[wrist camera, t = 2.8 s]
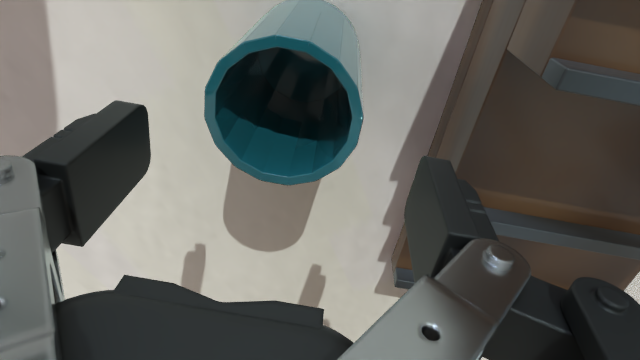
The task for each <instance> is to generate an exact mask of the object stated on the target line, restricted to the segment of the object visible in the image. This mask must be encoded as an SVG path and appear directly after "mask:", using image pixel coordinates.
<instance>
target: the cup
mask: <svg viewBox="0 0 640 360" xmlns="http://www.w3.org/2000/svg"><path fill="white" fill-rule="evenodd" d="M204 117H205V121H206V123H207V126H208V128H209V131H210V133H211V136H212V138H213V141H214V143H215V145H216V146H217V147H218V149H219V150H220V151H221V152H222V153H223V154H224V155H225V156H226V157H227V158H228V160H229V161H230V162H231V163H232V164H233V165H234V166H236V167H237V168H238V169H240V170H242V171H244V172H246V173H247V174H249V175H251V176H253V177H255V178H257V179H258V180H261V181H266V182H271V183H277V184H282V185H295V184H301V183H308V182H314V181H317V180H319V179H321V178H322V177H324V176H326V175H328V174H329V173H331V172H333V171H335V170H336V169H338V168H339V167H341V166H342V164H343V163H344V162H345V160H346V159H347V158H348V156H349V155H350V154H351V153H352V151H353V150H354V149H355V147H356V145H357V143H358V139H359V135H360V131H361V127H362V123H363V97H362V77H361V57H360V50H359V43H358V39H357V35H356V32H355V30H354V28H353V26H352V24H351V22H350V21H349V20H348V18H347V17H346V16H345V15H344V14H343V13H342V12H341V11H340V10H339V9H338V8H336V7H335V6H334V5H332V4H330V3H328V2H326V1H324V0H286V1H283V2H281V3H279V4H278V5H276V6H275V7H273V8H272V9H271V10H270V11H269V12H268V13H266V14H265V15H264V16H263V17H262V18H261V19H260V20H259V21H258V22H257V23H256V24H255V25H254V26H253V27H252V28H251V29H250V30H249V31H248V32H247V33H246V34H245V35H244V36H243V37H242V38H241V39H240V40H239V41H238V42H237V43H236V44H235V45H234V46H233V47H232V48H231V49H230V50H229V51H228V52H227V53H226V54H225V55H224V56H223V57H222V58H221V59H220V60H219V61H218V62H217V64H216V66H215V68H214V70H213V72H212V75H211V77H210V79H209V81H208V83H207V85H206V87H205V108H204Z"/></svg>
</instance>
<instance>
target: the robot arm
mask: <svg viewBox="0 0 640 360" xmlns="http://www.w3.org/2000/svg"><path fill="white" fill-rule="evenodd" d="M150 157H151V152H150V138H149V124H148V113H147V109H146V107H145V106H144V105H140V104H134V103H128V102H123V101H114V102H112V103H111V104H109V105H108V106H107V107H105V108H104V109H102V110H101V111H99V112H98V113H97V114H92V115H89V116H86V117H83V118H80V119H77V120H75V121H74V122H72V123H71V124H69V125H68V126H66V127H65V128H64V130H61V131H59V132H58V133H56V134H55V135H54V137H50V138H49V139H47V140H46V141H44V142H43V143H41V144H40V145H38V146H37V147H36V148H34V149H33V150H31V151H30V152H28V153H27V154H25V155H24V156H22V157H19V156H0V360H481V358H482V357H484V358H487V359H489V360H640V305H639V304H638V303H637V302H636V301H635V300H634V299H633V298H632V297H631V296H630V295H628V294H627V293H625V292H624V291H623V290H621V289H619V288H618V287H616V286H614V285H612V284H610V283H608V282H606V281H603V280H600V279H596V278H592V277H580V278H577V279H576V280H574V282H573V283H572V285H571V286H570V287H569V289H568V290H566V289H563V288H561V287H558V286H556V285H553V284H551V283H548V282H545V281H543V280H540V279H538V278H536V277H534V276H532V275H531V268H530V265H529V263H528V262H527V260H526V259H525V258H524V257H523V256H522V255H521V254H520V253H519V252H517V251H516V250H515V249H513V248H512V247H510V246H508V245H506V244H504V243H502V242H499V240H498V237H497V235H496V233H495V231H494V229H493V226H492V224H491V222H490V220H489V218H488V215H487V214H486V211H485V209H484V207H483V205H481V203H482V202H481V200H480V198H479V196H478V193H477V191H476V190H475V189H474V188H473V187H472V186H471V185H470V184H468V183H467V182H466V181H465V180H462V179H457V176H456V174H455V171H454V169H453V166H452V164H451V162H450V160H445V159H439V158H434V157H428V156H423V157H422V158H421V160H420V163H419V165H418V168H417V171H416V174H415V177H414V180H413V183H412V186H411V189H410V192H409V195H408V199H407V202H406V206H405V214H404V220H405V227H406V233H407V239H408V245H409V252H410V258H411V264H412V270H413V276H414V283H415V284H414V285H413V286H412V287H411V288H410V289H409V290H408V291H407V292H406V293H405V294H404V295H403V296H402V297H401V298H400V299H399V300H398V301H397V302H396V303H395V304H394V305H393V306H392V307H391V308H390V309H389V310H388V311H387V312H385V313H384V314H383V315H382V316H381V317H380V318H379V319H378V320H377V321H376V322H375V323H374V324H373V325H372V326H371V327H370V328H369V329H368V330H367V331H366V332H365V333H364V334H363V335H362V336H361V337H360V338H359V339H358V340H357V341H356V342H355V343H353V342H352V341H351V340H349V339H348V338H346V337H345V336H343V335H342V334H340V333H338V332H337V331H335V330H333V329H331V328H329V327H327V326H324V325H322V324H323V313H324V309H321V308H315V307H309V306H303V305H297V304H291V303H286V302H280V301H254V302H227V303H226V302H218V301H215V300H213V299H210V298H208V297H206V296H203V295H201V294H198V293H196V292H193V291H191V290H189V289H186V288H184V287H181V286H179V285H176V284H174V283H169V282H163V281H157V280H151V279H145V278H139V277H134V276H128V275H124V276H123V278H122V279H121V281H120V282H119V284H118V285H117V287H116V288H115V290H106V291H99V292H92V293H88V294H83V295H79V296H76V297H73V298H69V299H66V300H65V297H64V291H63V285H62V279H61V273H60V267H59V261H58V256H57V252H56V248H57V247H58V246H59V245H60V244H61V243H64V244H70V245H75V246H81V247H83V246H84V245H85V243H86V242H87V241H88V240H89V239H90V238H91V236H92V235H93V234H94V233H95V232H96V231H97V230H98V228H99V227H100V226H101V225H102V224H103V223H104V221H105V220H106V219H107V218H108V217H109V216H110V214H111V213H112V212H113V211H114V210H115V209H116V208H117V206H118V205H119V204H120V203H121V202H122V201H123V199H124V198H125V197H126V196H127V195H128V194H129V193H130V191H131V190H132V189H133V188H134V187H135V186H136V184H137V183H138V182H139V181H140V180H141V179H142V177H143V176H144V175H145V174H146V172H147V170H148V167H149V164H150Z"/></svg>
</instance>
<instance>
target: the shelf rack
mask: <svg viewBox="0 0 640 360" xmlns="http://www.w3.org/2000/svg"><path fill="white" fill-rule="evenodd" d="M428 157H434V158H439V159H445V160H450V162H451V164H452V166H453V169H454V171H455V174H456V176H457V179H462V180H465V181H466V182H467V183H468V184H470V185H471V186H472V187H473V188H474V189H475V190H476V191H477V193H478V196H479V198H480V200H481V202H482V203H481V205H483V207H484V209H485V211H486V214H487V215H488V218H489V220H490V222H491V224H492V226H493V229H494V231H495V233H496V235H497V237H498V240H499V242H502V243H504V244H506V245H508V246H510V247H512V248H513V249H515V250H516V251H517V252H519V253H520V254H521V255H522V256H523V257H524V258H525V259H526V260H527V262H528V263H529V265H530V268H531V275H532V276H534V277H536V278H538V279H540V280H543V281H545V282H548V283H551V284H553V285H556V286H558V287H561V288H563V289H566V290H568V289H569V287H570V286H571V285H572V283H573V282H574V280H576V279H577V278H580V277H592V278H596V279H600V280H603V281H606V282H608V283H610V284H612V285H614V286H616V287H618V288H619V289H621V290H623V291H624V290H625V289H626V287H627V286H628V285H629V284H630V282H631V281H632V280H633V279H634V277H635V276H636V275H637V274H638V273H639V271H640V0H483V1H482V4H481V7H480V9H479V12H478V15H477V18H476V21H475V23H474V26H473V29H472V32H471V35H470V38H469V40H468V43H467V46H466V49H465V52H464V55H463V57H462V60H461V63H460V66H459V69H458V72H457V74H456V77H455V80H454V83H453V86H452V89H451V91H450V94H449V97H448V100H447V103H446V106H445V108H444V111H443V114H442V117H441V120H440V123H439V125H438V128H437V131H436V134H435V137H434V140H433V142H432V145H431V148H430V151H429V154H428ZM392 268H393V276H394V285H395V287H398V288H404V289H410V288H411V287H412V286H413V285H414V284H415V283H414V276H413V270H412V264H411V258H410V252H409V245H408V239H407V233H406V227H405V222H404V225H403V227H402V230H401V233H400V236H399V239H398V242H397V244H396V247H395V250H394V253H393V256H392Z"/></svg>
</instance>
